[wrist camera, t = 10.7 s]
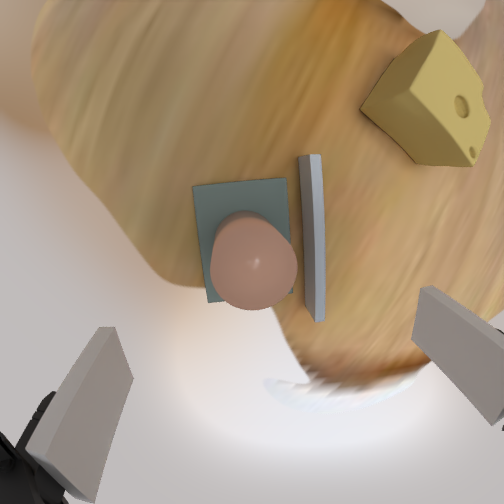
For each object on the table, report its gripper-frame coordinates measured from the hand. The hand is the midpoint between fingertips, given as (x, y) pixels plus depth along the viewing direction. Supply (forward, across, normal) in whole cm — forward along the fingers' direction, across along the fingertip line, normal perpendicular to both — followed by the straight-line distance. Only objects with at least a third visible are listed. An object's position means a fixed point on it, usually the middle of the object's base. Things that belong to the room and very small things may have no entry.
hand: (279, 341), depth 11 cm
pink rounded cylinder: (+18, 0, 0) cm, 18 cm away
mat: (+18, 0, 0) cm, 19 cm away
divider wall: (+19, +6, 0) cm, 20 cm away
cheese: (+19, +20, +14) cm, 31 cm away
